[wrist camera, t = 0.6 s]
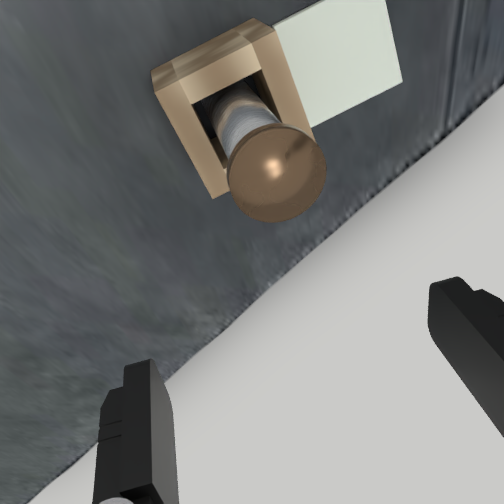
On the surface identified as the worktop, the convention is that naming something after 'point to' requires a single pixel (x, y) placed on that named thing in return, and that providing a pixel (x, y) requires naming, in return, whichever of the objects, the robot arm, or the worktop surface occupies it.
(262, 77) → the oak eye block
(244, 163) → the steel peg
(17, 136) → the worktop surface
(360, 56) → the sage mat
